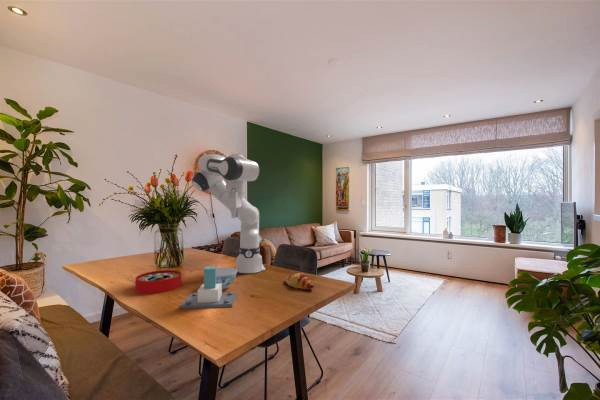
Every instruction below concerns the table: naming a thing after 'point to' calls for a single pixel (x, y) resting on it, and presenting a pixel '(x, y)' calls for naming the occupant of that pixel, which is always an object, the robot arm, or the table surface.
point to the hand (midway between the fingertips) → (235, 217)
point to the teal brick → (210, 277)
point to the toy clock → (158, 281)
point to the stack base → (221, 303)
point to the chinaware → (225, 276)
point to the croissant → (299, 281)
